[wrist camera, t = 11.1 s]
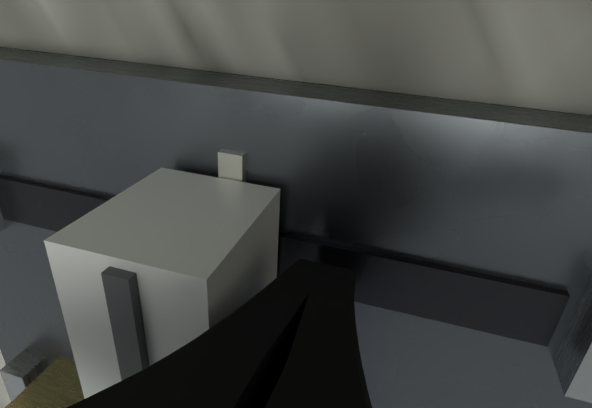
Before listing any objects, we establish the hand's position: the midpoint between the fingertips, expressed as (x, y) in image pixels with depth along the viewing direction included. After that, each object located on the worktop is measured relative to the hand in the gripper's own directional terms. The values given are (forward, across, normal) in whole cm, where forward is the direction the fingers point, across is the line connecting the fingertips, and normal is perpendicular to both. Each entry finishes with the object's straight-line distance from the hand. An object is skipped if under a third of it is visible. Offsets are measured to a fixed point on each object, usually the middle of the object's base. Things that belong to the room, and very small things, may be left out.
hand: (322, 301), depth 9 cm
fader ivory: (+1, +3, 0) cm, 3 cm away
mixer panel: (+3, +3, +4) cm, 6 cm away
